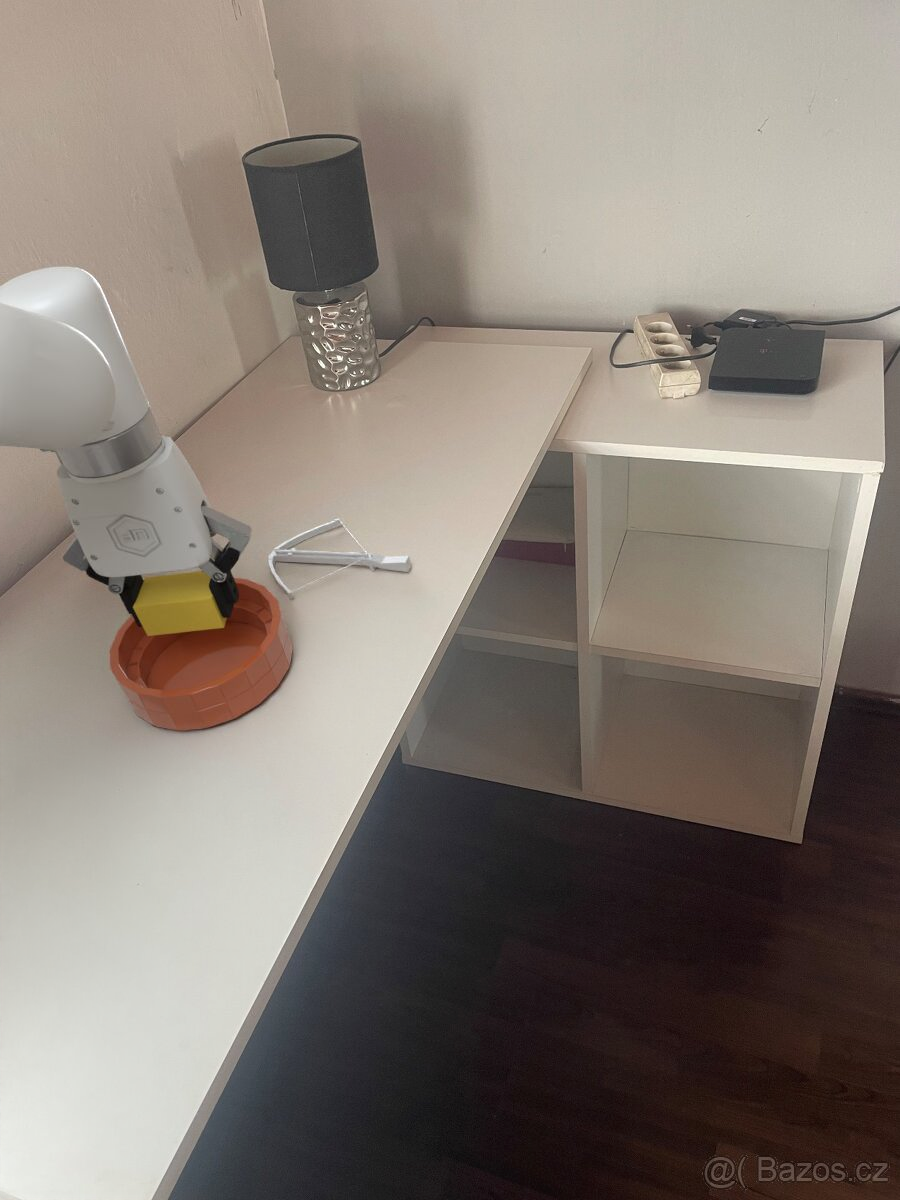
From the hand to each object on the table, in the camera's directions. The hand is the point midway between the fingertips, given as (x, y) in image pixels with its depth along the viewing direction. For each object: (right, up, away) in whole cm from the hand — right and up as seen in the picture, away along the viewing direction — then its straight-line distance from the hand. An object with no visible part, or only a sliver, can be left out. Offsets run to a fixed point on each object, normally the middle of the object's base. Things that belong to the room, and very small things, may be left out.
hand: (187, 610), depth 77 cm
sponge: (0, -1, +1) cm, 1 cm away
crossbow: (+12, +5, +14) cm, 19 cm away
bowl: (+1, -6, +5) cm, 7 cm away
